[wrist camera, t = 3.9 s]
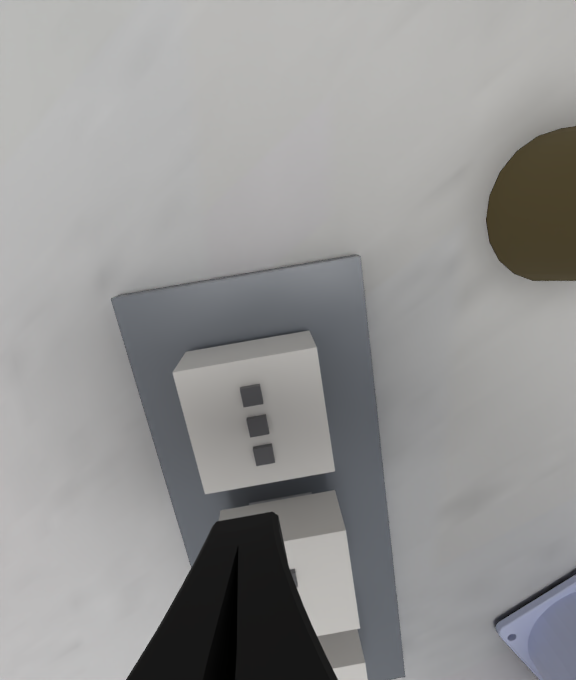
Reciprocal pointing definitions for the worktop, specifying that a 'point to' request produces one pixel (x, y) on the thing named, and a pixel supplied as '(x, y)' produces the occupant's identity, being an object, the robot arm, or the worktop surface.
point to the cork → (537, 209)
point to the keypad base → (340, 400)
